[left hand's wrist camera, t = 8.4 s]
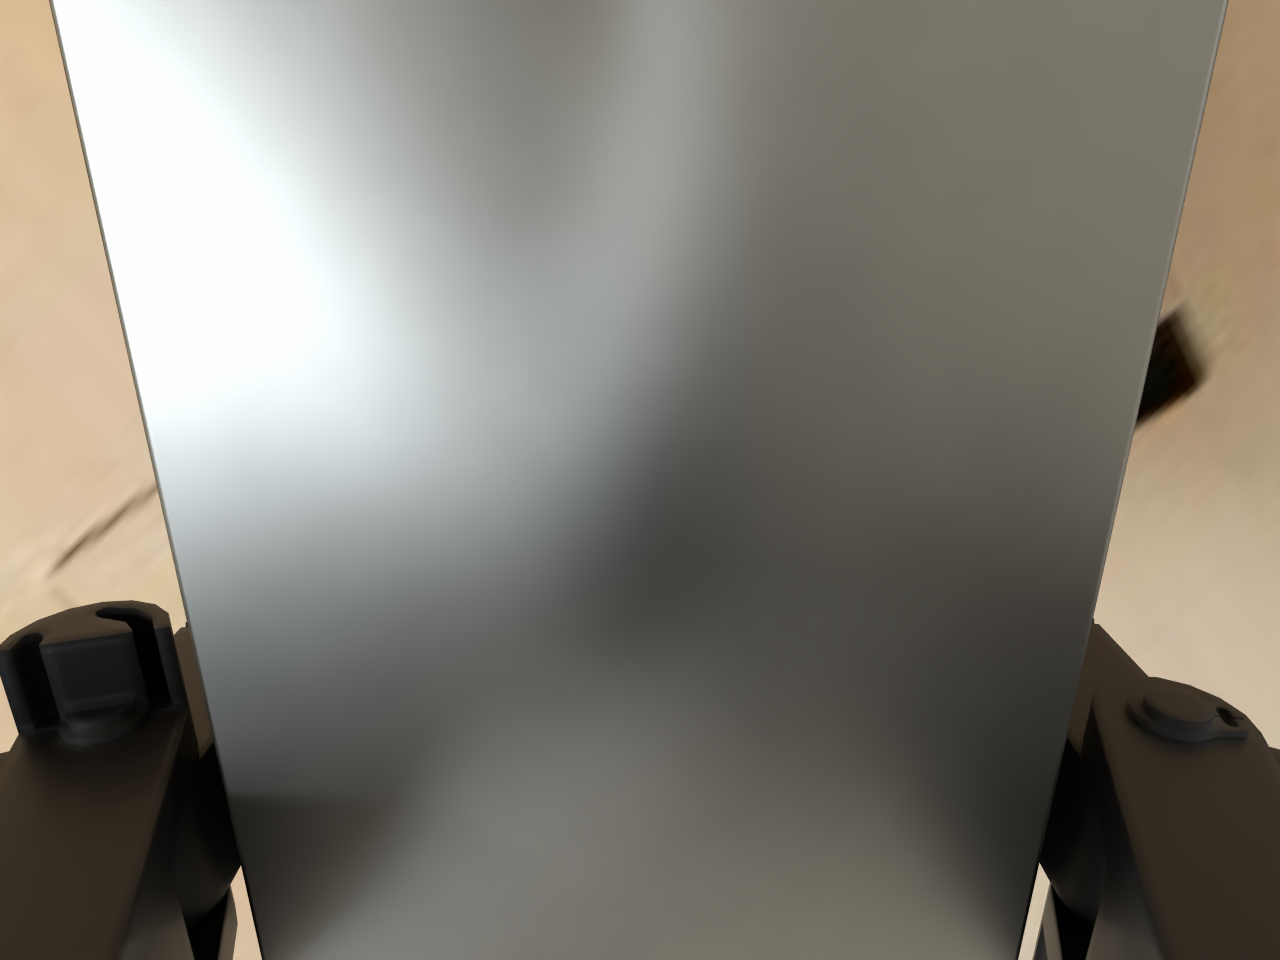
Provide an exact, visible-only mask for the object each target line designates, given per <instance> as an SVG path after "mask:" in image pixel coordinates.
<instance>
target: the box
mask: <svg viewBox="0 0 1280 960" xmlns="http://www.w3.org/2000/svg"><path fill="white" fill-rule="evenodd" d="M49 2H50V7H51V11H52V16H53V20H54V25H55V29H56V34H57V38H58V43H59V47H60V52H61V56H62V61H63V65H64V70H65V74H66V79H67V83H68V88H69V92H70V97H71V101H72V106H73V110H74V115H75V119H76V124H77V128H78V133H79V137H80V142H81V146H82V151H83V155H84V160H85V164H86V169H87V173H88V178H89V182H90V187H91V191H92V196H93V200H94V205H95V209H96V214H97V218H98V223H99V227H100V232H101V236H102V241H103V245H104V250H105V254H106V259H107V263H108V268H109V272H110V277H111V281H112V286H113V290H114V295H115V299H116V304H117V308H118V313H119V317H120V322H121V326H122V331H123V335H124V340H125V344H126V349H127V353H128V358H129V362H130V367H131V371H132V376H133V380H134V385H135V389H136V394H137V398H138V403H139V407H140V412H141V416H142V421H143V425H144V430H145V434H146V439H147V443H148V448H149V452H150V457H151V461H152V466H153V470H154V475H155V479H156V484H157V488H158V493H159V497H160V502H161V506H162V511H163V515H164V520H165V524H166V529H167V533H168V538H169V542H170V547H171V551H172V556H173V560H174V565H175V569H176V574H177V578H178V583H179V587H180V592H181V596H182V601H183V605H184V610H185V615H186V619H187V624H188V628H189V633H190V637H191V642H192V646H193V651H194V655H195V660H196V664H197V669H198V673H199V678H200V682H201V687H202V691H203V696H204V700H205V705H206V709H207V714H208V718H209V723H210V727H211V732H212V736H213V741H214V745H215V750H216V754H217V759H218V763H219V768H220V772H221V777H222V781H223V786H224V790H225V795H226V799H227V804H228V808H229V813H230V817H231V822H232V826H233V831H234V835H235V840H236V844H237V849H238V853H239V858H240V862H241V867H242V871H243V876H244V880H245V885H246V889H247V894H248V898H249V903H250V907H251V912H252V916H253V921H254V925H255V930H256V934H257V939H258V943H259V948H260V952H261V957H262V960H1018V957H1019V953H1020V948H1021V944H1022V939H1023V934H1024V930H1025V925H1026V921H1027V916H1028V912H1029V907H1030V903H1031V898H1032V893H1033V889H1034V884H1035V880H1036V875H1037V871H1038V866H1039V862H1040V857H1041V852H1042V848H1043V843H1044V839H1045V834H1046V830H1047V825H1048V821H1049V816H1050V811H1051V807H1052V802H1053V798H1054V793H1055V789H1056V784H1057V779H1058V775H1059V770H1060V766H1061V761H1062V757H1063V752H1064V748H1065V743H1066V738H1067V734H1068V729H1069V725H1070V720H1071V716H1072V711H1073V707H1074V702H1075V697H1076V693H1077V688H1078V684H1079V679H1080V675H1081V670H1082V666H1083V661H1084V656H1085V652H1086V647H1087V643H1088V638H1089V634H1090V629H1091V625H1092V620H1093V615H1094V611H1095V606H1096V602H1097V597H1098V593H1099V588H1100V583H1101V579H1102V574H1103V570H1104V565H1105V561H1106V556H1107V552H1108V547H1109V542H1110V538H1111V533H1112V529H1113V524H1114V520H1115V515H1116V511H1117V506H1118V501H1119V497H1120V492H1121V488H1122V483H1123V479H1124V474H1125V470H1126V465H1127V460H1128V456H1129V451H1130V447H1131V442H1132V438H1133V433H1134V428H1135V424H1136V419H1137V415H1138V410H1139V406H1140V401H1141V397H1142V392H1143V387H1144V383H1145V378H1146V374H1147V369H1148V365H1149V360H1150V356H1151V351H1152V346H1153V342H1154V337H1155V333H1156V328H1157V324H1158V319H1159V315H1160V310H1161V305H1162V301H1163V296H1164V292H1165V287H1166V283H1167V278H1168V273H1169V269H1170V264H1171V260H1172V255H1173V251H1174V246H1175V242H1176V237H1177V232H1178V228H1179V223H1180V219H1181V214H1182V210H1183V205H1184V201H1185V196H1186V191H1187V187H1188V182H1189V178H1190V173H1191V169H1192V164H1193V160H1194V155H1195V150H1196V146H1197V141H1198V137H1199V132H1200V128H1201V123H1202V118H1203V114H1204V109H1205V105H1206V100H1207V96H1208V91H1209V87H1210V82H1211V77H1212V73H1213V68H1214V64H1215V59H1216V55H1217V50H1218V46H1219V41H1220V36H1221V32H1222V27H1223V23H1224V18H1225V14H1226V9H1227V5H1228V0H49Z"/></svg>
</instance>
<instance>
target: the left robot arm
mask: <svg viewBox="0 0 1280 960" xmlns="http://www.w3.org/2000/svg"><path fill="white" fill-rule="evenodd" d="M0 677H1V680H2V683H3V686H4V689H5V692H6V695H7V699H8V702H9V705H10V708H11V711H12V714H13V717H14V720H15V724H16V727H17V730H18V733H19V735H18V737H17V739H16V740H15V742H14V744H13V746H12V748H11V749H10V751H9V752H5V753H0V960H233V953H234V946H235V939H236V931H237V924H238V923H237V915H236V908H235V903H234V898H233V894H232V889H231V885H230V884H231V882H232V880H233V879H234V877H235V875H236V873H237V871H238V869H239V868H240V866H241V862H240V858H239V853H238V849H237V844H236V840H235V835H234V831H233V826H232V822H231V817H230V813H229V808H228V804H227V799H226V795H225V790H224V786H223V781H222V777H221V772H220V768H219V763H218V759H217V754H216V750H215V745H214V741H213V736H212V732H211V727H210V723H209V718H208V714H207V709H206V705H205V700H204V696H203V691H202V687H201V682H200V678H199V673H198V669H197V664H196V660H195V655H194V651H193V646H192V642H191V637H190V633H189V628H188V624H187V622H186V627H181V628H180V629H179V630H178V631H177V632H176V634H175V635H173V631H172V626H171V622H170V618H169V613H167V612H166V611H164V610H163V609H161V608H160V607H159V606H157V605H156V604H151V603H145V602H139V601H133V600H131V601H111V602H100V603H95V604H90V605H86V606H81V607H76V608H71V609H68V610H65V611H62V612H59V613H57V614H54V615H51V616H48V617H45V618H43V619H40V620H37V621H35V622H33V623H32V624H30V625H28V626H26V627H24V628H23V629H21V630H19V631H17V632H15V633H14V634H12V635H10V636H9V637H8V638H7V639H6V640H5V641H4V642H3V643H2V644H0ZM1040 864H1041V866H1042V868H1043V870H1044V871H1045V873H1046V875H1047V877H1048V879H1049V881H1050V885H1049V889H1048V894H1047V898H1046V903H1045V907H1044V911H1043V916H1042V920H1041V925H1040V929H1039V933H1038V938H1037V942H1036V946H1035V951H1034V955H1033V960H1280V749H1276V748H1272V747H1269V746H1268V744H1267V742H1266V740H1265V739H1264V737H1263V735H1262V733H1261V732H1260V731H1259V730H1258V729H1257V727H1256V726H1255V725H1254V724H1253V723H1252V722H1251V721H1250V719H1249V718H1248V717H1247V716H1246V715H1245V714H1243V713H1242V712H1240V711H1239V710H1237V709H1236V708H1234V707H1233V706H1231V705H1230V704H1228V703H1227V702H1225V701H1224V700H1222V699H1221V698H1219V697H1216V696H1214V695H1212V694H1209V693H1207V692H1204V691H1202V690H1200V689H1197V688H1195V687H1193V686H1190V685H1187V684H1183V683H1179V682H1175V681H1170V680H1166V679H1162V678H1158V677H1148V676H1147V675H1146V674H1145V673H1144V671H1143V670H1142V669H1141V668H1140V667H1139V666H1138V665H1137V664H1136V663H1135V662H1134V661H1133V660H1132V659H1131V658H1130V657H1129V656H1128V655H1127V653H1126V652H1125V651H1124V650H1123V649H1122V648H1121V647H1120V646H1119V645H1118V644H1117V643H1116V642H1115V641H1114V640H1113V639H1112V638H1111V637H1110V636H1109V634H1108V633H1107V632H1106V631H1105V630H1104V629H1103V628H1102V627H1101V626H1100V625H1099V624H1094V619H1093V620H1092V625H1091V629H1090V634H1089V638H1088V643H1087V647H1086V652H1085V656H1084V661H1083V666H1082V670H1081V675H1080V679H1079V684H1078V688H1077V693H1076V697H1075V702H1074V707H1073V711H1072V716H1071V720H1070V725H1069V729H1068V734H1067V738H1066V743H1065V748H1064V752H1063V757H1062V761H1061V766H1060V770H1059V775H1058V779H1057V784H1056V789H1055V793H1054V798H1053V802H1052V807H1051V811H1050V816H1049V821H1048V825H1047V830H1046V834H1045V839H1044V843H1043V848H1042V852H1041V857H1040Z"/></svg>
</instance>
